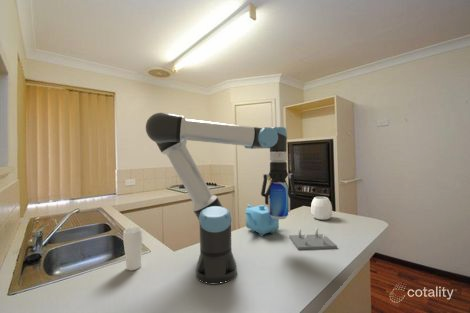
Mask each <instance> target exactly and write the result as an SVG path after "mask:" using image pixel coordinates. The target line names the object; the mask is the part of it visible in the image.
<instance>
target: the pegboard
mask: <svg viewBox="0 0 470 313" xmlns="http://www.w3.org/2000/svg"><path fill="white" fill-rule="evenodd" d="M314 232H315V233H314V234H302V228H298V234H294V235H293V234H292V235H291V234H290V235H289V236H288V239H290V241H291V242H292V245H294V247H295V248H296V249H297V250H298V251H303V250H307V251H308V250H327V249H328V250H331V249H332V250H333V249H338V245H337V244H336V243H334V241H332V240H331V239H330V238H329V237H328V236H326V234H324V233H320V234H319V228H315V230H314Z"/></svg>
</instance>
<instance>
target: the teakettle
mask: <svg viewBox="0 0 470 313" xmlns="http://www.w3.org/2000/svg"><path fill="white" fill-rule="evenodd" d="M246 206H247V208H245V211H244V212H243V214H245V221H246V222H245V223H246V224H245V228H247V229H250V232H251V231H252V232H251V233H256V232H257V233H258V236H259V235H262V236H261V237H264V236H265V234H269V232H270V234H273V233H275V231H278V230H279V228H280V227H279V224H280V223H279V220H280V219H274V218H272V217H271V216H270V214H269V212H268V211H267V206H265V205H264V204H259V205H257V206H252V205H251V204H249V203H247V204H246ZM255 231H256V232H255ZM263 235H264V236H263Z"/></svg>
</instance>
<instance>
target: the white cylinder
mask: <svg viewBox="0 0 470 313" xmlns="http://www.w3.org/2000/svg"><path fill="white" fill-rule="evenodd" d="M122 240H123V249H124V257H125V263H126V264H125V266H126V270H127V271H136V270H138V269H139V268H141V266H142V250H143V229H142V228H141V227H136V226H135V227H129V228H127V229H125V230H123V235H122Z"/></svg>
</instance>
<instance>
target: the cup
mask: <svg viewBox="0 0 470 313" xmlns="http://www.w3.org/2000/svg"><path fill="white" fill-rule="evenodd" d="M310 205H311V206H310V213H311V216H312V217H313V218H314V219H316V220H320V221H321V220H323V221H325V220H326V221H327V220H329V219H330V218H332V215H333V206H332V202H331V201H330V199H329V197H326V196H315V197H313V199H312V201H311V203H310Z"/></svg>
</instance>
